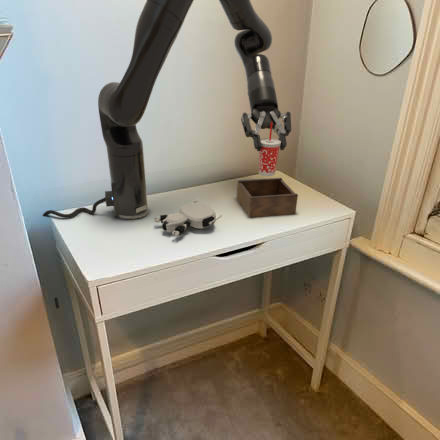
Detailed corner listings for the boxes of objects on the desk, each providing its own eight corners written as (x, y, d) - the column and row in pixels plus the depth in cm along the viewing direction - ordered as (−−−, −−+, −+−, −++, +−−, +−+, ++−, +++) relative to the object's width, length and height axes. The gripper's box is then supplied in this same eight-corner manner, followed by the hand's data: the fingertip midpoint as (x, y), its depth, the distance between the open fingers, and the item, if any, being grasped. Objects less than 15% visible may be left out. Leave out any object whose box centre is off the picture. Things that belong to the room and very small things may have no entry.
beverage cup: (252, 170, 125) (256, 119, 117) (272, 169, 126) (277, 118, 119) (261, 178, 120) (265, 125, 112) (281, 176, 122) (287, 124, 114)
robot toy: (176, 246, 109) (224, 228, 115) (174, 230, 106) (223, 212, 113) (152, 228, 117) (198, 211, 124) (150, 213, 114) (197, 197, 121)
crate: (249, 217, 122) (250, 198, 119) (236, 198, 133) (237, 180, 130) (295, 214, 125) (298, 194, 121) (279, 195, 136) (281, 177, 132)
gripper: (239, 85, 115) (249, 143, 113) (290, 84, 118) (301, 141, 116) (233, 102, 123) (242, 157, 120) (281, 101, 126) (291, 155, 123)
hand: (271, 149), depth 118 cm, fingers closed on beverage cup, 6 cm apart
